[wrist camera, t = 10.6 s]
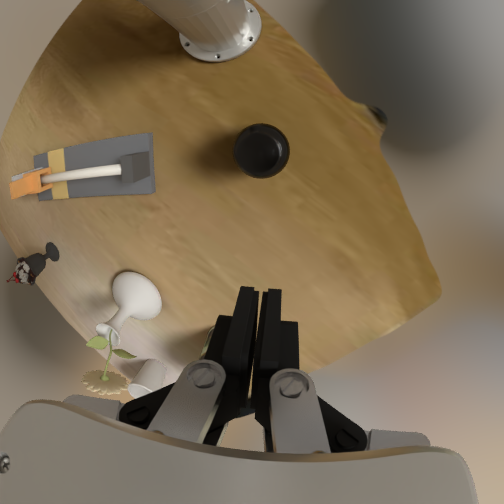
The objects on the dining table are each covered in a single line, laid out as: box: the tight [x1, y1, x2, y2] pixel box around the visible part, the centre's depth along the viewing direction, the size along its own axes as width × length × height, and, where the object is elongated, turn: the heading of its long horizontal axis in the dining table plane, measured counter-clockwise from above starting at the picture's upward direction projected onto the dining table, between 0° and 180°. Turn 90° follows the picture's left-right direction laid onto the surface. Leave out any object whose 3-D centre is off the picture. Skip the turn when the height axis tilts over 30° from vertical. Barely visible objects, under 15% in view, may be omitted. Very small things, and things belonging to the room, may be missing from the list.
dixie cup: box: [127, 359, 166, 399], centre depth 58 cm, size 8×8×10 cm
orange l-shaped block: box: [9, 167, 53, 199], centre depth 35 cm, size 5×4×9 cm
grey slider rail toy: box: [12, 133, 156, 201], centre depth 38 cm, size 30×10×8 cm, turn 89°
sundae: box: [7, 242, 59, 285], centre depth 44 cm, size 7×7×15 cm
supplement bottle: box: [233, 123, 290, 179], centre depth 33 cm, size 7×7×12 cm
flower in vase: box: [81, 272, 162, 395], centre depth 41 cm, size 13×11×25 cm
